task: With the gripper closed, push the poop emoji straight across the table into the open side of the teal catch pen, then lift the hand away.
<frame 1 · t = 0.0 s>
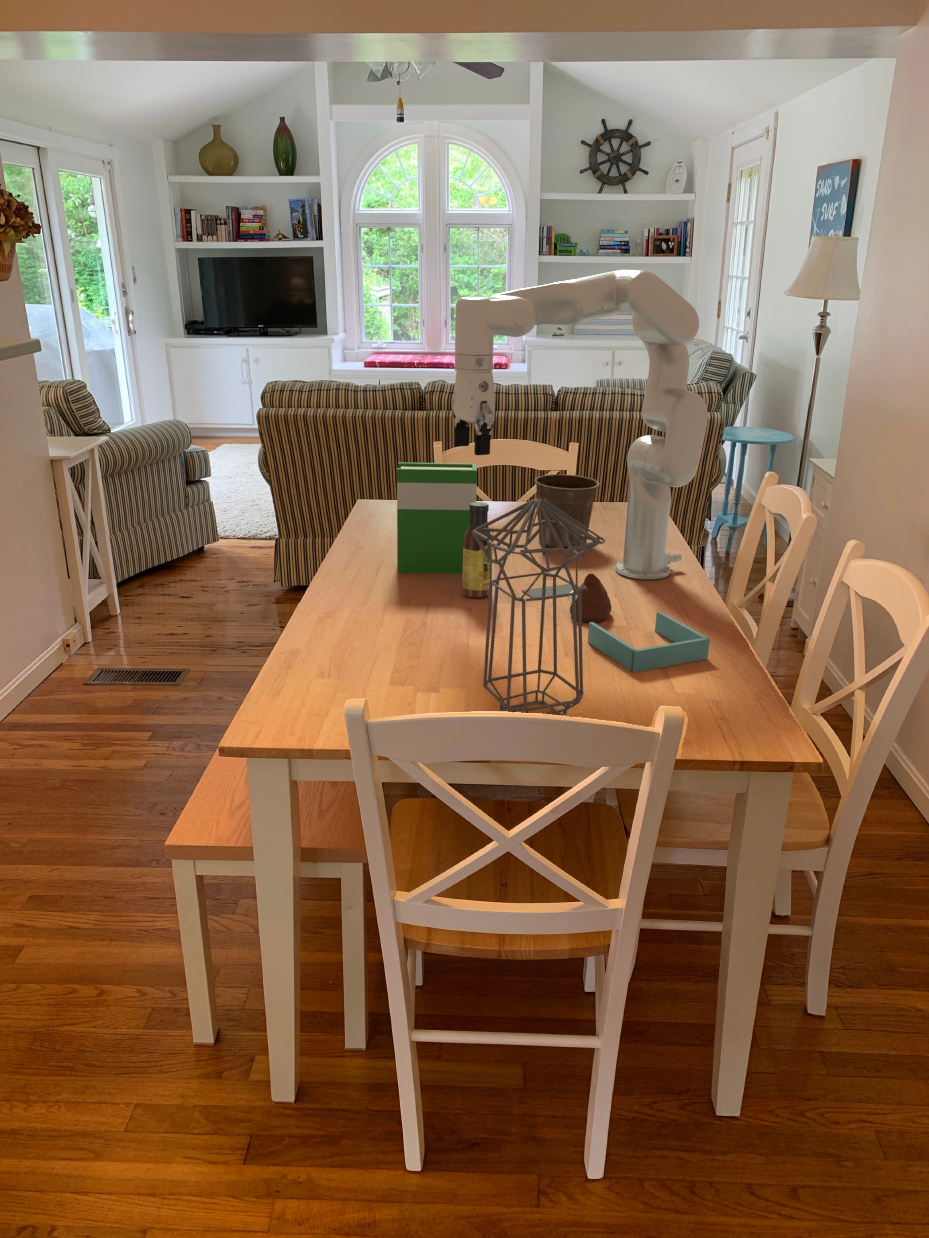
hand: (471, 450, 190), 31 cm above the table, tool pointing down, fingers open, 9 cm apart
poop emoji: (589, 616, 191), on the table
sauce bottle: (476, 595, 202), on the table
geometric lantern: (528, 715, 148), on the table
hardback book: (435, 569, 218), on the table
catch pen: (646, 650, 174), on the table
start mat: (552, 592, 204), on the table
plant pot: (563, 543, 240), on the table
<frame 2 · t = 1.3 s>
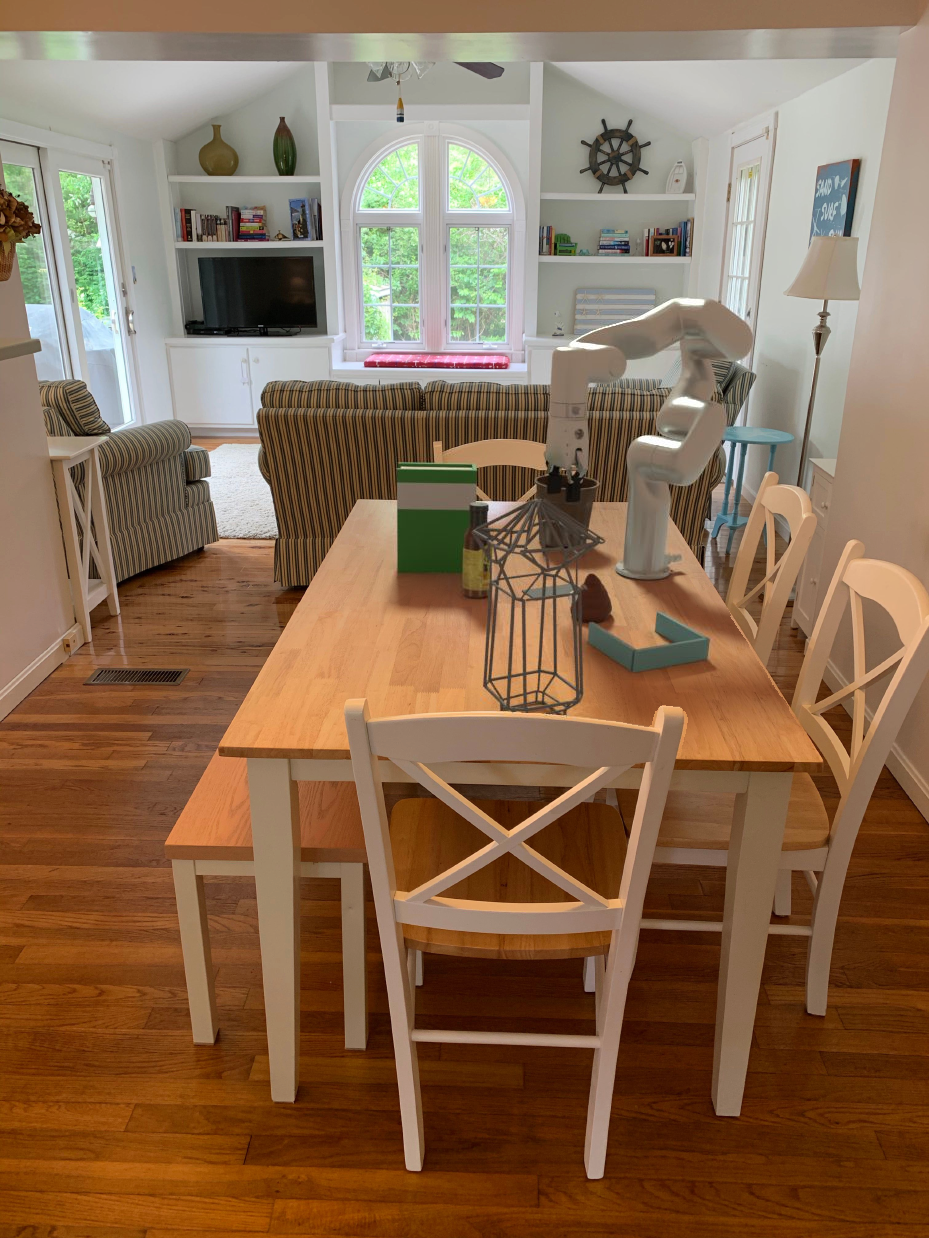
hand: (563, 496, 194), 22 cm above the table, tool pointing down, fingers open, 6 cm apart
nothing on the table moved.
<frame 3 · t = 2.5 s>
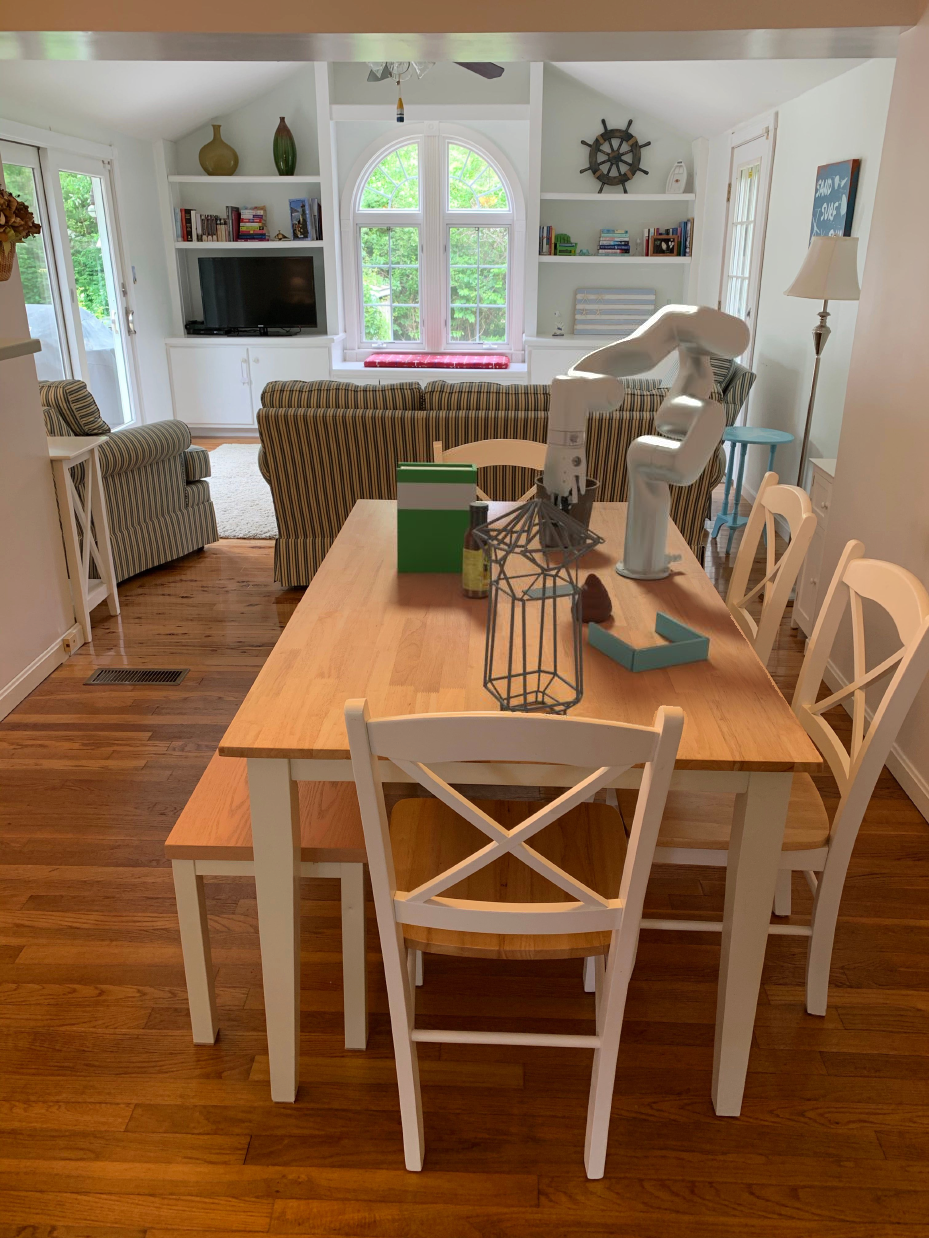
hand: (559, 525, 196), 16 cm above the table, tool pointing down, fingers closed
nothing on the table moved.
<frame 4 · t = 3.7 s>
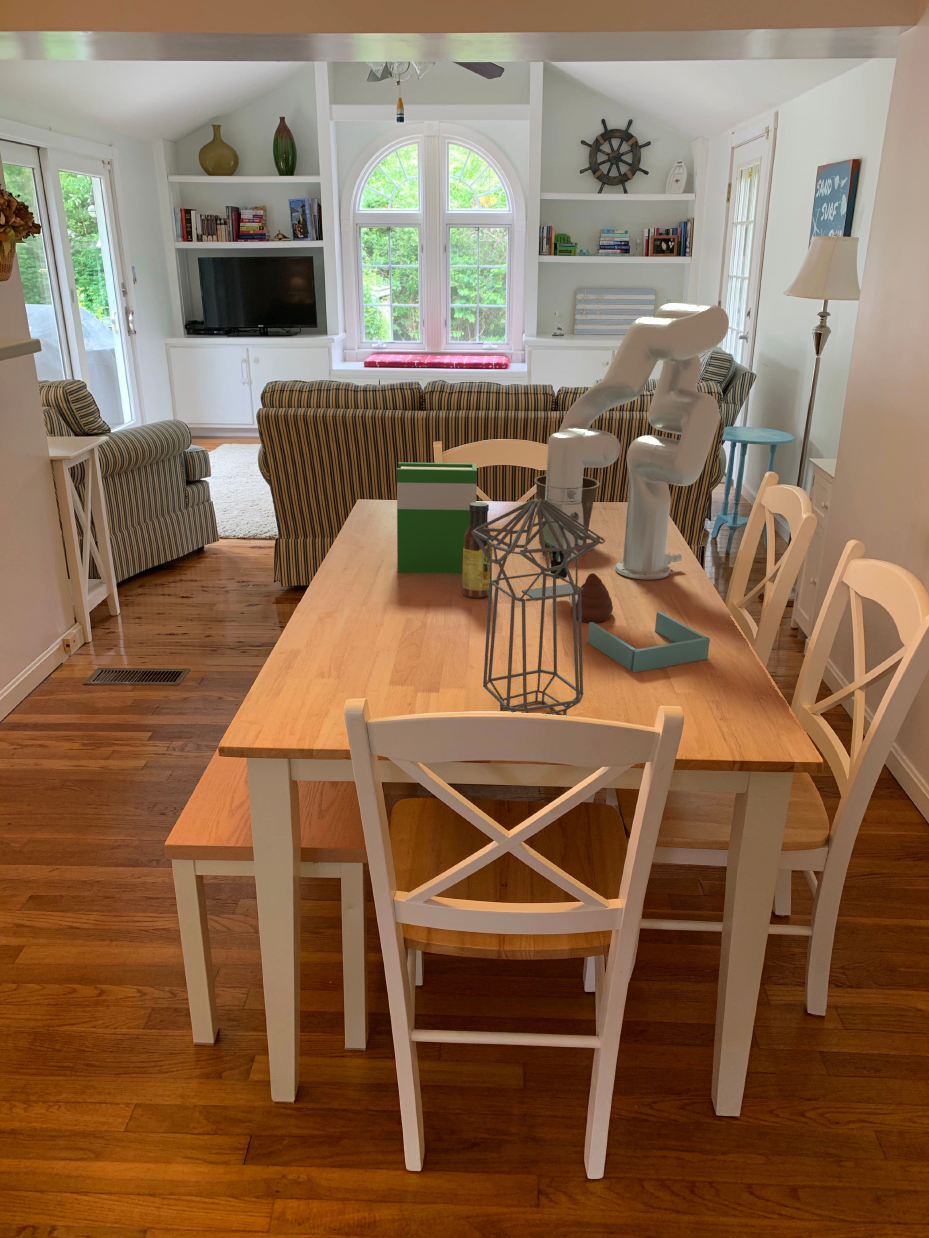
hand: (558, 577, 200), 4 cm above the table, tool pointing down, fingers closed
nothing on the table moved.
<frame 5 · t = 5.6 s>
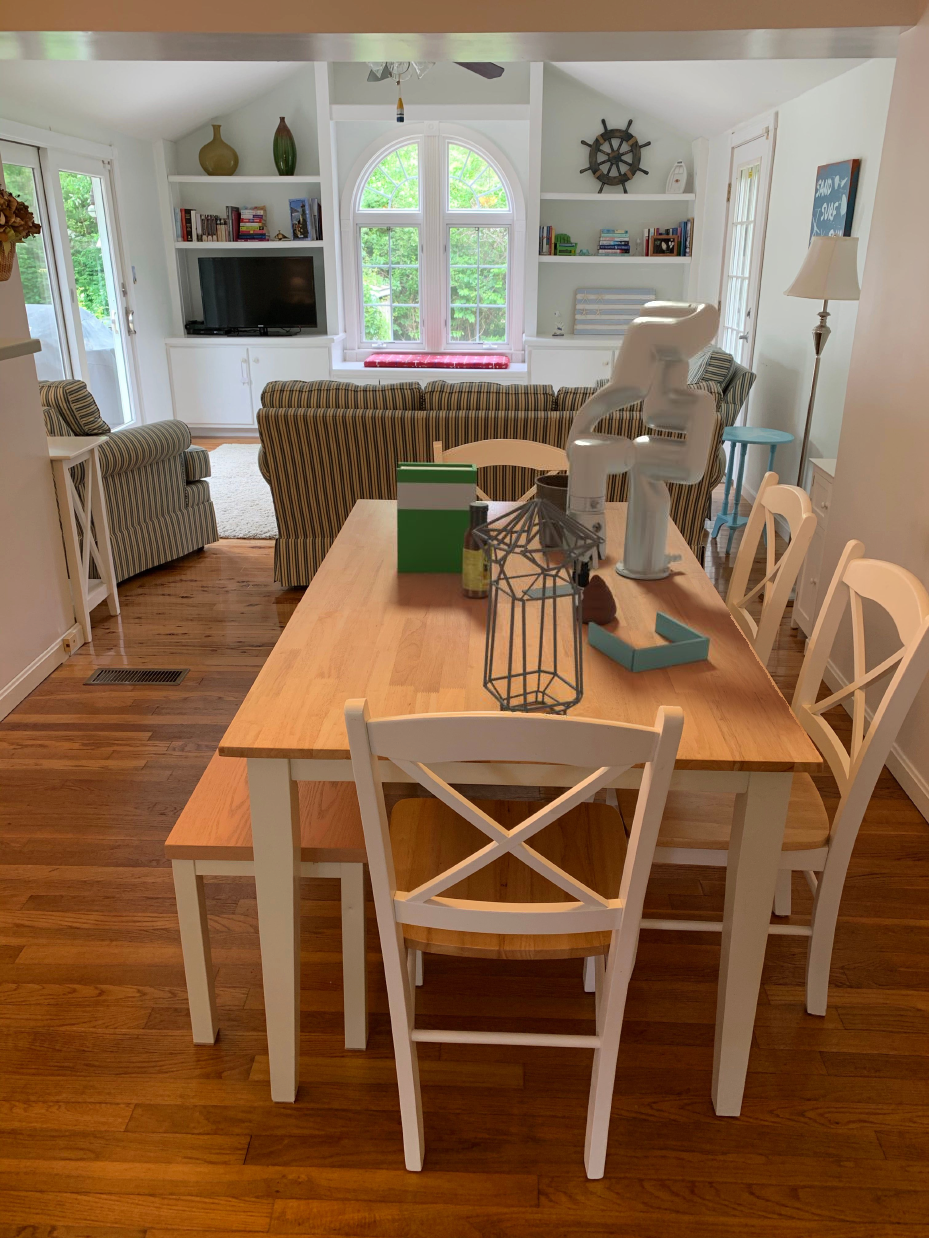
hand: (579, 589, 193), 4 cm above the table, tool pointing down, fingers closed
poop emoji: (594, 618, 190), on the table, touching gripper
everything else where it was.
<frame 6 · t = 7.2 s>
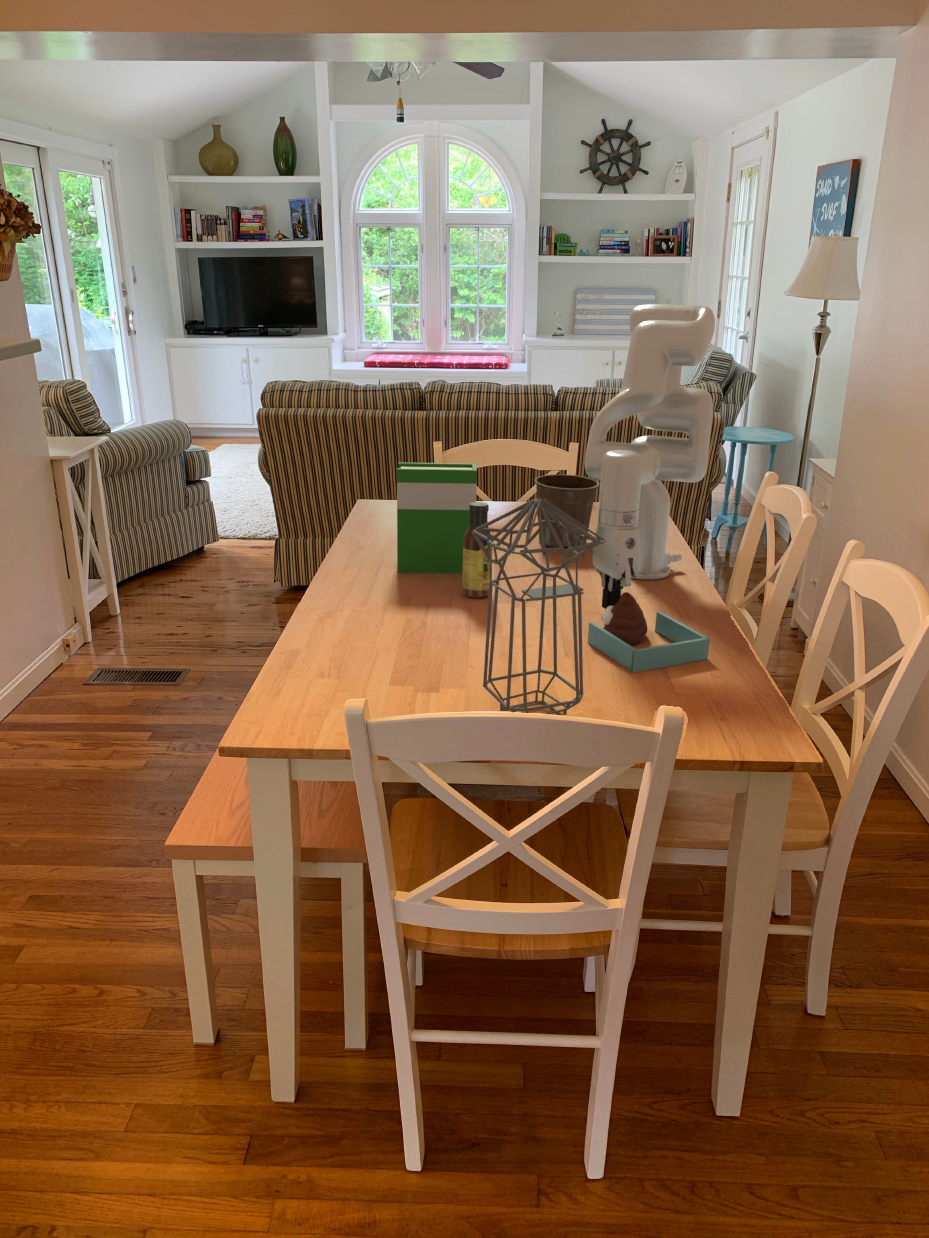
hand: (610, 607, 183), 4 cm above the table, tool pointing down, fingers closed
poop emoji: (623, 637, 180), on the table, touching gripper
everything else where it was.
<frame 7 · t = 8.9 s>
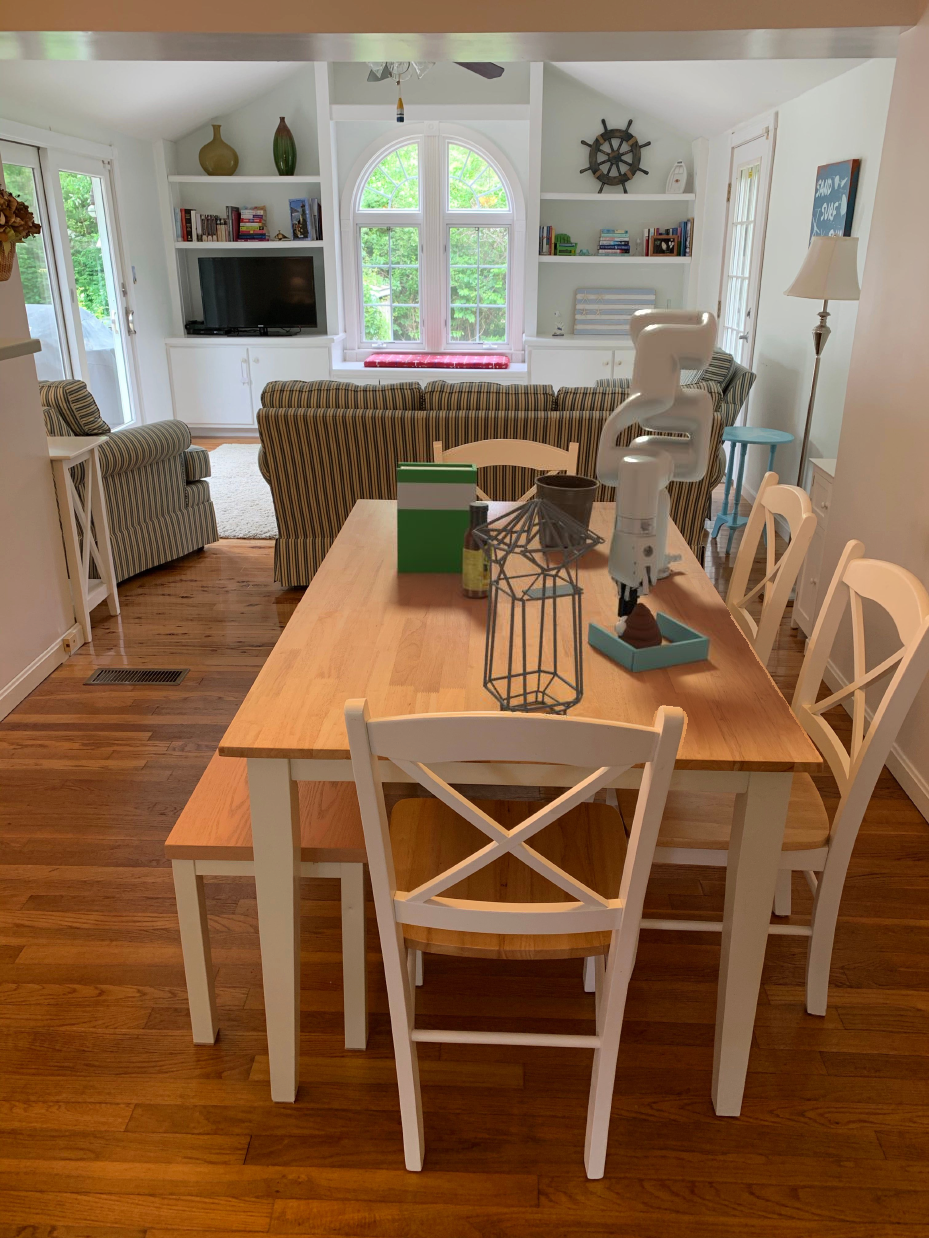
hand: (626, 617, 179), 4 cm above the table, tool pointing down, fingers closed
poop emoji: (637, 649, 175), on the table
everything else where it was.
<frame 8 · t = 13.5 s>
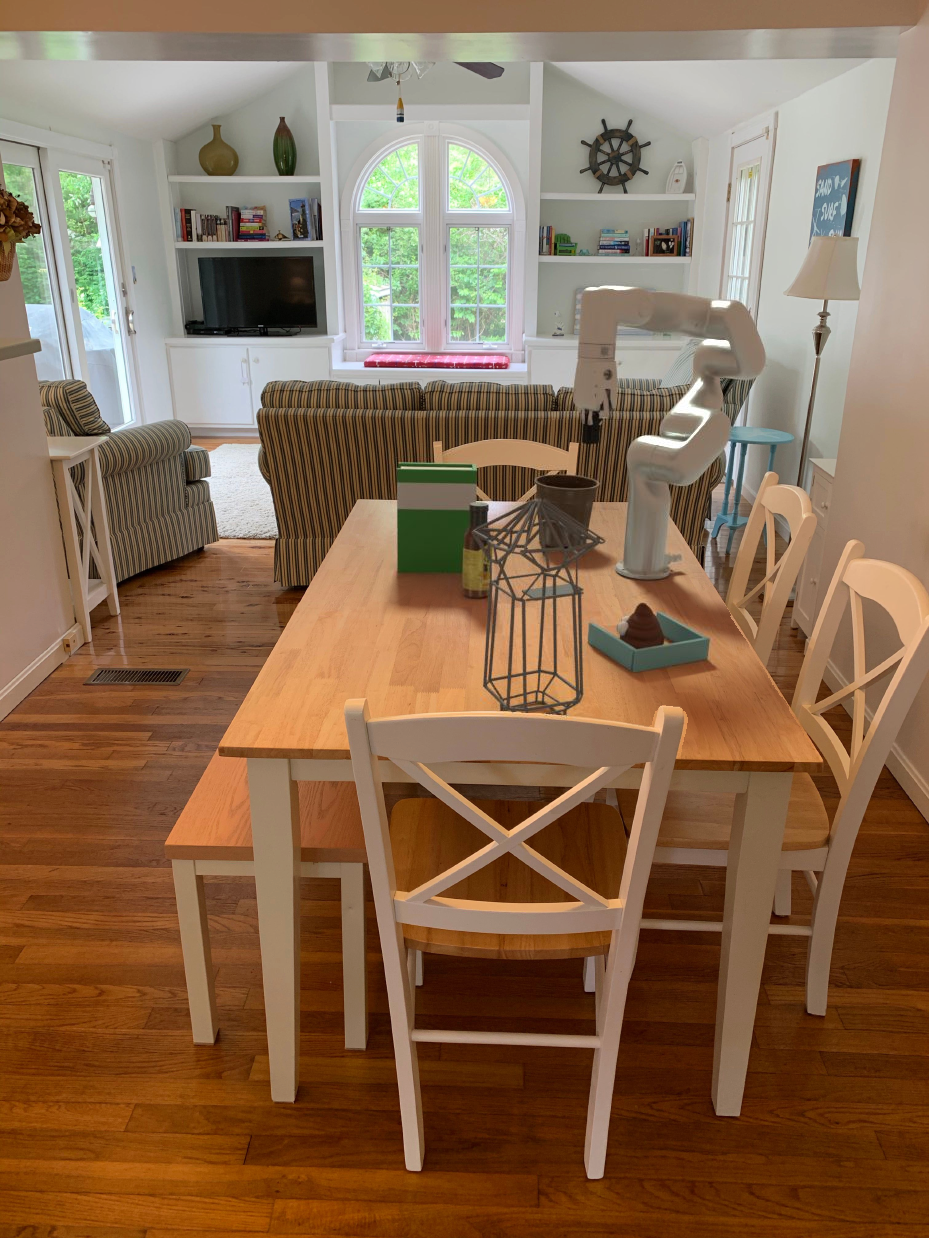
hand: (590, 443, 195), 32 cm above the table, tool pointing down, fingers closed
nothing on the table moved.
at the end: poop emoji inside the target area (2.1 cm from its centre), on the table; poop emoji moved 18.5 cm from its start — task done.
